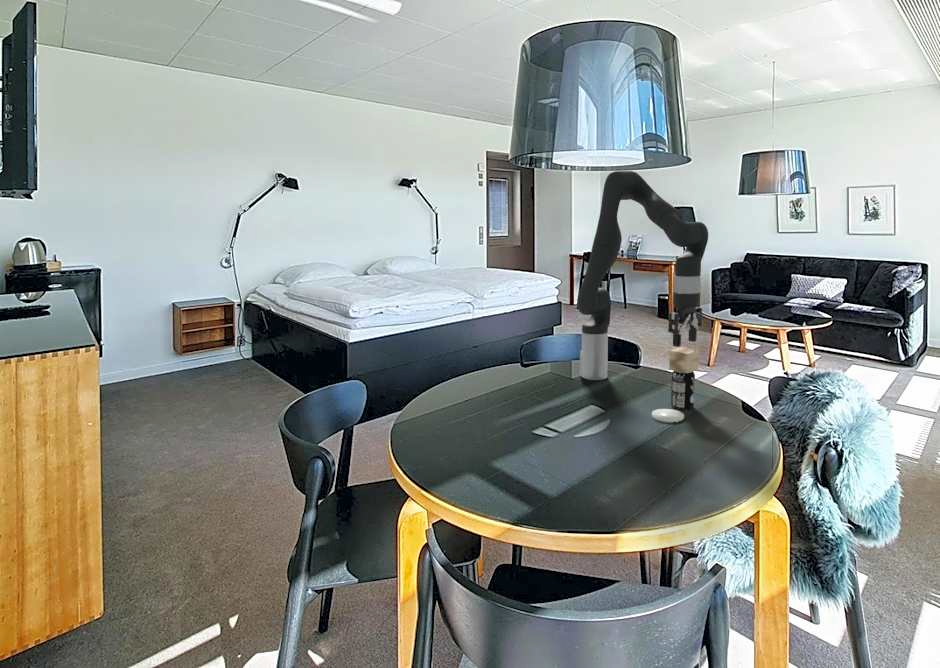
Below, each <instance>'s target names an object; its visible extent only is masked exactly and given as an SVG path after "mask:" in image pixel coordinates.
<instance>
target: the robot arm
mask: <svg viewBox="0 0 940 668" xmlns="http://www.w3.org/2000/svg"><path fill="white" fill-rule="evenodd" d="M601 198H602V199H601V204H600V205H601V206H600V212H599V217H598V222H597V225H596V226H597V227H596V231H595V234H594V237H593V241H592V242H593V243H592V246H591V252H590V255H589V261H588V264H587V267H586V271H585V274H584V278H583V280H582V284H581V287H580V289H579V291H578V295H577V299H576V300H577V302H576V303H577V310H578V311H579V313H580V314H581V315H584V316H589V315H590V317H589V319H588V320H586V321H585V322H584V323H583V324H582V325H581V350H580V352H579V376H580V377H582V378H583V379H586V380H588V381H602V380H605V379H607V378H608V355H609V354H608V345H609V344H608V343H609V342H608V341H609V340H608V339H609V332H608V331H609V329H608V328H609V326H610V324H611V323H610V322H611V308H612V299H611V295H610V292H609V291H608V290H607V289H606V288H604V287H600V285H601V283H602V281H603V279H604V277H605V276H606V275H607V273H608V272H609V270H611V268H612V267H614V264H615V263H616V261H617V260H618V259H617V258H618V256H619V252H620V249H621V246H622V242H623V241H622V239H623V238H622V237H623V236H622V232H621V228H620V225H619V221H618V213H619V208H620V203H621V201H629V200H631V201H634V202H636V203H638V204H639V205H641V206H642V207H643V209H644V211H645V214H646V216H647V218H648V219H649V220H650V221H651V222H652V223H653V224H655V226H658V228H659V229H661V230H663V232H664V234H665V235H666V237H667V238H668V240H669V241H670V242H671V243H672V244H673V245H674V246H676V247H679V248H685V250H684V253H682V254H680V255H679V256H677V257H676V259H675V266H674V267H675V272H674V280H673V297H672V305H673V307H675V308H676V311H675V312H670V313H669V315H668V316H669V317H668V327H667V330H668V333H669V334H670V333H671V334H672V346H673V347H676V348H680V347H682V346H681V345H682V332H683V330H684V329H686V327H687V326H688V328H689V329H688V342H693V343H695V342H697V331H698V329H699V327H702V323H703V307H700V306H701V291H702V290H701V289H702V279H701V275H702V274H701V273H702V260H703V257H704V254H705V251H706V249H707V245H708V241H709V230H708V227H707V226H706V224H705V223H703V222H701V221H690V222H688V221H686V222H685V221H684V216H683V213H682V212H681V211H680V210H678V209H677V208H676V207H675V206H673V205H671V203H669V202H668V201H667V200H665V199H664V198H662V197H661V195H659V194H658V193H657V192H656V191H655V190H654V189H653V188H652V187H651V185H649V184H648V182H647V181H646V180H644V178H643V177H642V176H641V175H640V174H639V173H637V172H636V171H633V170H614V171H611V172H610V173H609V174H608V175H607V176H606V179H605V181H604V185H603V190H602V197H601Z"/></svg>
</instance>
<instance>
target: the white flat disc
mask: <svg viewBox="0 0 940 668" xmlns="http://www.w3.org/2000/svg"><path fill="white" fill-rule="evenodd" d="M651 418H652V419H653V420H654V421H657V422H662V423H666V424H667V423H668V424H669V423H670V424H674V423H673V422H676V423H680V422H679V421H681V422H683V421H684V420H685V414H684V413H683V412H682V411H680V410H678V409H671V408H657V409H655V410H652V411H651ZM683 419H684V420H683ZM682 420H683V421H682Z"/></svg>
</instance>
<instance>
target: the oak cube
mask: <svg viewBox="0 0 940 668" xmlns="http://www.w3.org/2000/svg"><path fill="white" fill-rule="evenodd" d="M699 354H700V353H699V349H693V348H689V347H688V348H687V347H682V346H679V347H676V348H674V349H670V350H669V359H668V361H669V363H668V365H669V366H668V370H669V371H672V372H673V371H678V372H683V373H690V372H692V371H693V372H695V371H697V370H698V369H699Z"/></svg>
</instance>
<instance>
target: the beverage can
mask: <svg viewBox="0 0 940 668" xmlns="http://www.w3.org/2000/svg"><path fill="white" fill-rule="evenodd" d="M694 372H695V371H692V372H690V373H683V372H678V371H673V370H672V373H671V391H670V392H671V393H670V404H671V406H672V407H673V408H674V407H675V408H674V409H676V408H678V409H677V410H681V409H688V410H691V409H692V408H693V407H694V405H695V384H696V379H695V378H696V374H695V373H694ZM690 408H691V409H690Z"/></svg>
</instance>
